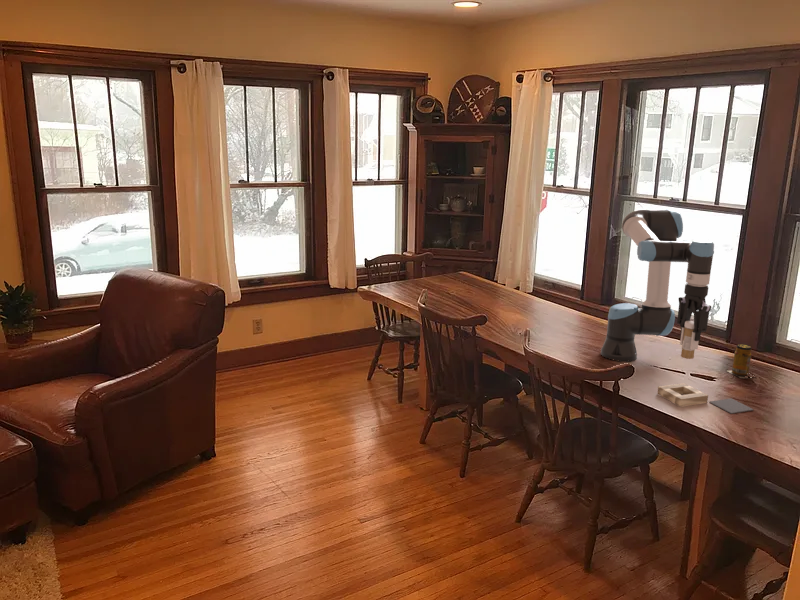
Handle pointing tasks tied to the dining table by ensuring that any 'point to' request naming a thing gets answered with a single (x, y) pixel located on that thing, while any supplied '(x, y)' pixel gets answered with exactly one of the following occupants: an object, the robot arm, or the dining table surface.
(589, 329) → the dining table surface
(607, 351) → the robot arm
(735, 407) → the coaster
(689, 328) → the sprinkles bottle
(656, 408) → the dining table surface
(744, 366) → the condiment
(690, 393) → the frame
